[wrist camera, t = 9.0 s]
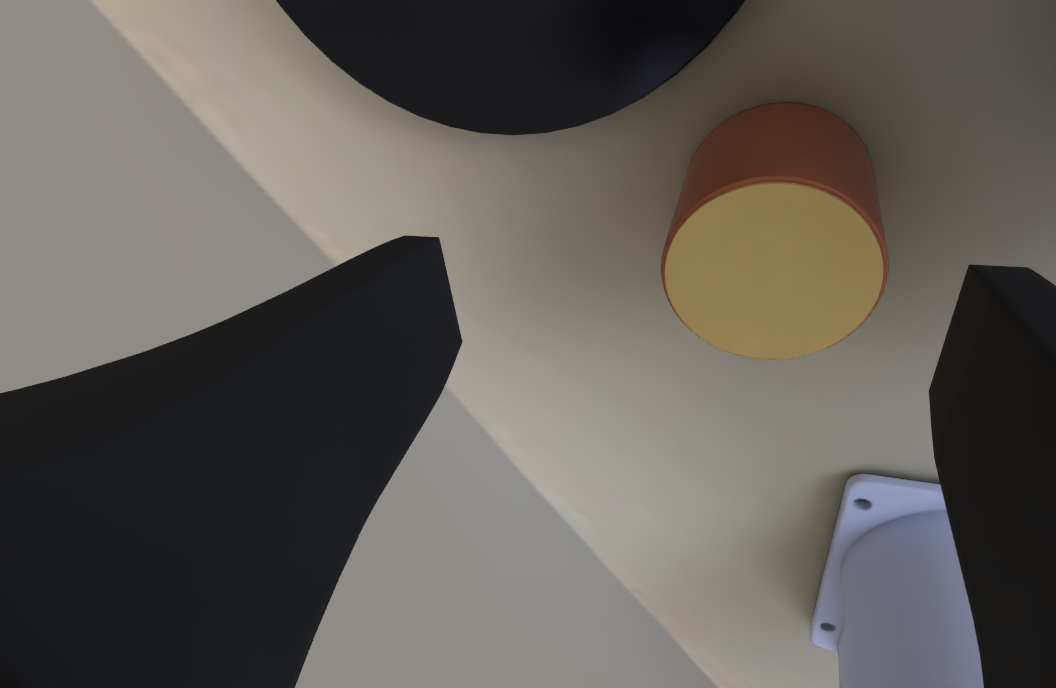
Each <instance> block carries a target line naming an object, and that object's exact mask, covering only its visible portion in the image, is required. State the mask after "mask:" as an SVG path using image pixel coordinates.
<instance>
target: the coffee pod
mask: <svg viewBox="0 0 1056 688" xmlns="http://www.w3.org/2000/svg"><path fill="white" fill-rule="evenodd" d="M888 270H889V264H888V252H887V246H886V241H885V235H884V229H883V224H882V218H881V213H880V207H879V201H878V196H877V190H876V185H875V179H874V173H873V168H872V163H871V159H870V156H869V153H868V151H867V149H866V147H865V145H864V143H863V141H862V140H861V138H860V137H859V136H858V135H857V133H856V132H855V131H854V130H853V129H852V128H851V127H850V126H849V125H848V124H847V123H846V122H844V121H843V120H841V119H840V118H838V117H837V116H835V115H833V114H831V113H829V112H827V111H825V110H823V109H820V108H817V107H813V106H810V105H804V104H798V103H775V104H767V105H762V106H758V107H755V108H752V109H749V110H746V111H743V112H741V113H739V114H737V115H735V116H733V117H731V118H730V119H728V120H727V121H725V122H723V123H722V124H721V125H719V126H718V127H717V128H716V129H715V130H713V131H712V132H711V133H710V134H709V135H708V136H707V138H706V139H705V140H704V141H703V142H702V144H701V145H700V146H699V148H698V149H697V151H696V153H695V155H694V156H693V158H692V161H691V163H690V166H689V168H688V171H687V175H686V178H685V181H684V184H683V187H682V191H681V194H680V197H679V200H678V204H677V207H676V210H675V213H674V217H673V220H672V223H671V226H670V229H669V233H668V236H667V239H666V242H665V246H664V250H663V254H662V261H661V276H662V283H663V287H664V291H665V294H666V296H667V299H668V301H669V303H670V305H671V307H672V308H673V310H674V312H675V313H676V315H677V316H678V317H679V318H680V320H681V321H682V322H683V323H684V324H685V325H686V326H687V327H688V328H689V329H690V330H691V331H692V332H694V333H695V334H696V335H697V336H699V337H700V338H702V339H703V340H705V341H706V342H708V343H710V344H711V345H713V346H715V347H717V348H720V349H722V350H724V351H727V352H730V353H733V354H736V355H740V356H744V357H750V358H756V359H787V358H794V357H800V356H804V355H808V354H812V353H814V352H817V351H820V350H823V349H825V348H827V347H829V346H831V345H833V344H835V343H838V342H839V341H841V340H842V339H844V338H845V337H847V336H849V335H850V334H851V333H852V332H854V331H855V330H856V329H857V328H858V327H860V326H861V324H862V323H863V322H864V321H865V320H866V319H867V318H868V317H869V316H870V314H871V313H872V312H873V310H874V309H875V307H876V306H877V304H878V302H879V300H880V298H881V296H882V294H883V292H884V289H885V285H886V282H887V276H888Z"/></svg>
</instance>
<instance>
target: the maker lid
mask: <svg viewBox="0 0 1056 688" xmlns="http://www.w3.org/2000/svg"><path fill="white" fill-rule="evenodd" d="M276 1H277V2H278V4H279V5H280V6H281V8H282V9H283V10H284V11H285V12H286V13H287V15H288V16H289V17H290V18H291V19H292V20H293V22H294V23H295V24H296V25H297V26H298V28H299V29H300V30H301V31H302V32H303V33H304V35H305V36H306V37H307V38H308V39H309V40H310V41H311V42H312V43H314V44H315V45H316V46H317V47H318V48H319V49H320V50H321V51H322V52H323V53H324V54H325V55H326V56H327V57H328V58H329V59H330V60H331V61H332V62H333V63H335V64H336V65H337V66H338V67H340V68H341V69H342V70H343V71H345V72H346V73H347V74H349V75H350V76H351V77H352V78H354V79H355V80H356V81H357V82H359V83H360V84H361V85H363V86H365V87H366V88H368V89H369V90H371V91H373V92H374V93H376V94H377V95H379V96H381V97H382V98H384V99H385V100H387V101H388V102H390V103H392V104H395V105H397V106H399V107H401V108H403V109H405V110H407V111H409V112H411V113H413V114H415V115H417V116H420V117H423V118H426V119H429V120H432V121H435V122H438V123H440V124H443V125H446V126H449V127H454V128H459V129H464V130H469V131H474V132H479V133H489V134H504V135H523V134H537V133H548V132H553V131H557V130H562V129H567V128H572V127H576V126H580V125H583V124H586V123H588V122H591V121H594V120H597V119H600V118H602V117H605V116H608V115H611V114H613V113H615V112H617V111H619V110H621V109H623V108H624V107H626V106H628V105H630V104H632V103H634V102H636V101H638V100H640V99H642V98H644V97H645V96H647V95H648V94H650V93H651V92H652V91H654V90H655V89H657V88H658V87H659V86H661V85H662V84H664V83H665V82H667V81H668V80H669V79H671V78H672V77H674V76H675V75H677V74H678V73H679V72H680V71H681V70H682V69H683V68H684V67H685V66H686V65H688V64H689V63H690V62H691V61H692V60H693V59H694V58H695V57H696V56H697V55H699V54H700V53H701V52H702V51H703V50H704V49H705V48H706V47H707V46H708V45H709V44H710V43H711V42H712V41H713V40H714V38H715V37H716V36H717V35H718V34H719V33H720V31H721V30H722V29H723V28H724V27H725V26H726V25H727V23H728V22H729V21H730V20H731V19H732V18H733V16H734V15H735V14H736V13H737V12H738V11H739V9H740V8H741V6H742V5H743V3H744V2H745V0H276Z"/></svg>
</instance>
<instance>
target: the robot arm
mask: <svg viewBox="0 0 1056 688" xmlns="http://www.w3.org/2000/svg"><path fill="white" fill-rule="evenodd" d="M461 344H462V338H461V334H460V329H459V325H458V320H457V316H456V311H455V307H454V302H453V298H452V293H451V289H450V284H449V280H448V275H447V271H446V266H445V262H444V257H443V253H442V248H441V244H440V239H439V237H421V236H402V237H399V238H397V239H394V240H391V241H389V242H386V243H384V244H382V245H379V246H377V247H375V248H373V249H371V250H368V251H366V252H364V253H362V254H360V255H358V256H356V257H354V258H352V259H350V260H348V261H346V262H344V263H342V264H340V265H338V266H336V267H334V268H332V269H330V270H328V271H326V272H324V273H322V274H320V275H318V276H316V277H314V278H312V279H310V280H308V281H306V282H305V283H302V284H301V285H298V286H296V287H294V288H293V289H290V290H288V291H287V292H284V293H282V294H280V295H278V296H276V297H274V298H272V299H269V300H267V301H265V302H263V303H261V304H259V305H256V306H254V307H252V308H250V309H248V310H246V311H244V312H242V313H240V314H237V315H235V316H233V317H231V318H229V319H227V320H224V321H222V322H220V323H217V324H215V325H213V326H210V327H208V328H206V329H203V330H200V331H198V332H196V333H193V334H191V335H188V336H185V337H183V338H180V339H177V340H175V341H172V342H169V343H167V344H164V345H162V346H159V347H156V348H153V349H151V350H148V351H145V352H142V353H139V354H136V355H133V356H130V357H127V358H124V359H120V360H117V361H114V362H111V363H107V364H104V365H101V366H98V367H95V368H91V369H88V370H85V371H82V372H79V373H76V374H72V375H69V376H66V377H62V378H59V379H55V380H51V381H47V382H44V383H40V384H36V385H32V386H28V387H24V388H21V389H17V390H13V391H8V392H4V393H0V688H295V685H296V683H297V680H298V677H299V675H300V672H301V669H302V667H303V664H304V661H305V659H306V657H307V654H308V651H309V649H310V646H311V644H312V641H313V638H314V636H315V634H316V631H317V629H318V627H319V624H320V622H321V620H322V617H323V615H324V613H325V610H326V608H327V605H328V603H329V601H330V598H331V596H332V594H333V591H334V589H335V586H336V584H337V582H338V580H339V577H340V575H341V573H342V571H343V569H344V567H345V564H346V562H347V560H348V558H349V556H350V554H351V551H352V549H353V547H354V545H355V543H356V541H357V539H358V536H359V534H360V532H361V530H362V528H363V526H364V524H365V522H366V520H367V518H368V516H369V515H370V513H371V511H372V509H373V507H374V505H375V504H376V502H377V500H378V498H379V497H380V495H381V493H382V492H383V490H384V488H385V487H386V485H387V483H388V482H389V480H390V478H391V477H392V475H393V474H394V472H395V470H396V469H397V467H398V465H399V464H400V462H401V460H402V459H403V457H404V455H405V454H406V452H407V450H408V449H409V447H410V445H411V444H412V442H413V441H414V438H415V437H416V436H417V434H418V432H419V431H420V429H421V427H422V426H423V424H424V422H425V420H426V419H427V417H428V415H429V414H430V412H431V410H432V408H433V407H434V405H435V403H436V402H437V400H438V398H439V396H440V395H441V393H442V390H443V388H444V386H445V384H446V381H447V379H448V377H449V375H450V372H451V370H452V367H453V365H454V362H455V360H456V357H457V354H458V352H459V349H460V347H461ZM929 399H930V414H931V428H932V439H933V449H934V458H935V463H936V467H937V472H938V476H939V481H940V484H934V483H927V482H920V481H913V480H906V479H899V478H892V477H884V476H877V475H870V474H858V475H854V476H852V477H850V478H849V479H848V481H847V482H846V486H845V490H844V494H843V498H842V502H841V506H840V510H839V514H838V518H837V522H836V526H835V530H834V534H833V538H832V542H831V546H830V550H829V554H828V558H827V562H826V566H825V570H824V574H823V578H822V582H821V586H820V590H819V594H818V598H817V602H816V606H815V610H814V614H813V618H812V622H811V626H810V630H809V632H810V641H811V642H812V643H813V644H815V645H816V646H818V647H822V648H826V649H831V650H835V651H838V658H839V684H840V688H1056V286H1055V285H1053V284H1052V283H1051V282H1049V281H1048V280H1046V279H1045V278H1044V277H1042V276H1041V275H1039V274H1037V273H1036V272H1034V271H1033V270H1031V269H1029V268H1027V267H1007V266H988V265H969V266H968V269H967V272H966V275H965V279H964V282H963V285H962V288H961V291H960V294H959V298H958V301H957V304H956V307H955V310H954V313H953V316H952V320H951V323H950V326H949V329H948V332H947V335H946V338H945V342H944V345H943V348H942V351H941V354H940V357H939V361H938V364H937V367H936V370H935V373H934V376H933V379H932V383H931V386H930V389H929ZM857 499H865V500H857Z"/></svg>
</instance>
